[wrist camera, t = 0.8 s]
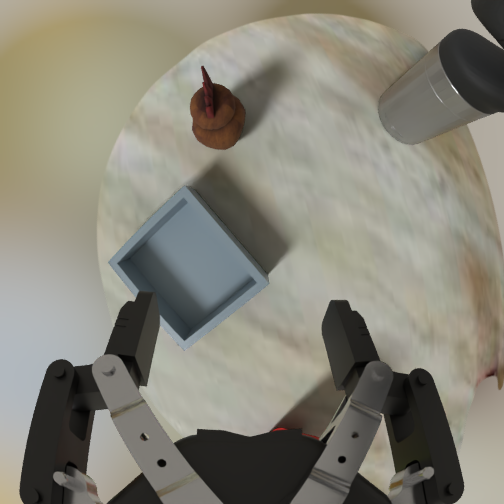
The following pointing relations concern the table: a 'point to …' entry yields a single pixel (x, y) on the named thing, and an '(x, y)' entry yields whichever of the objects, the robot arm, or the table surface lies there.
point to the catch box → (189, 267)
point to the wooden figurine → (216, 115)
